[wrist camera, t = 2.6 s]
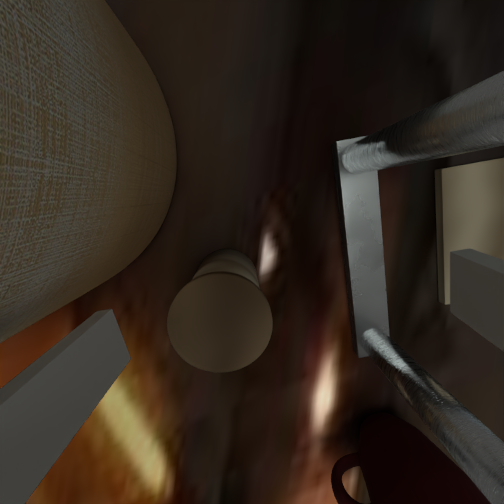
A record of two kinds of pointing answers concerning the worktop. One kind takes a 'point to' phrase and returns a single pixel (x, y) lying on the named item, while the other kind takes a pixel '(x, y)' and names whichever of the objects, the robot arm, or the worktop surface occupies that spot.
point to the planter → (75, 154)
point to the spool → (221, 314)
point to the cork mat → (468, 214)
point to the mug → (403, 467)
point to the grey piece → (373, 273)
